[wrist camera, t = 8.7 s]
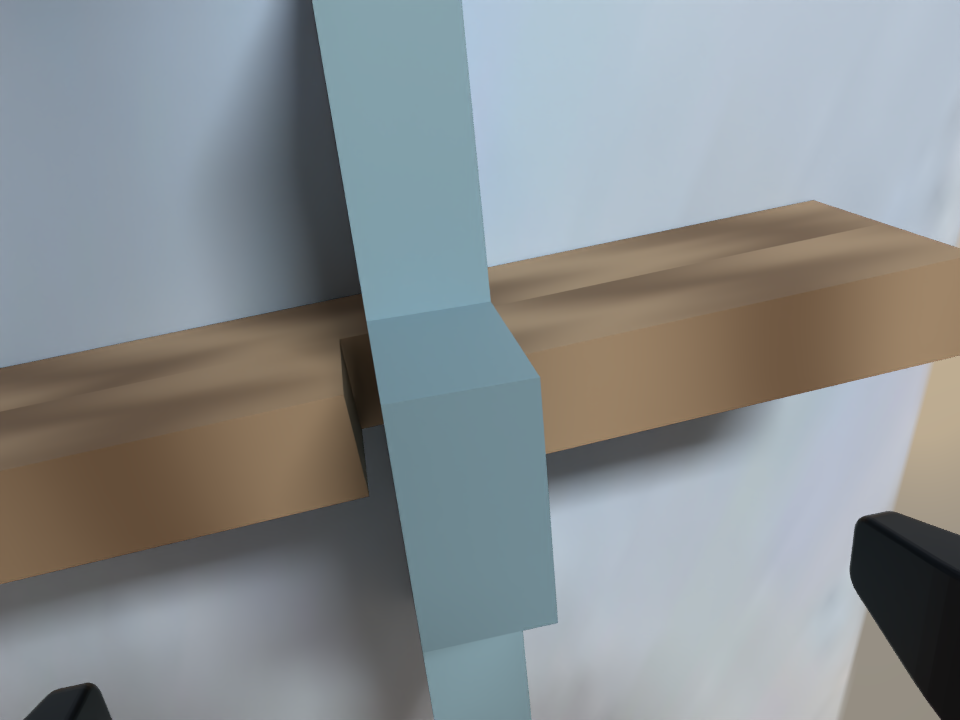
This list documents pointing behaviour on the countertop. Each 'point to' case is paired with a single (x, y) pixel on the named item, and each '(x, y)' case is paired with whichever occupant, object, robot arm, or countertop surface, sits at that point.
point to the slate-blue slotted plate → (417, 231)
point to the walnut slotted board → (534, 324)
